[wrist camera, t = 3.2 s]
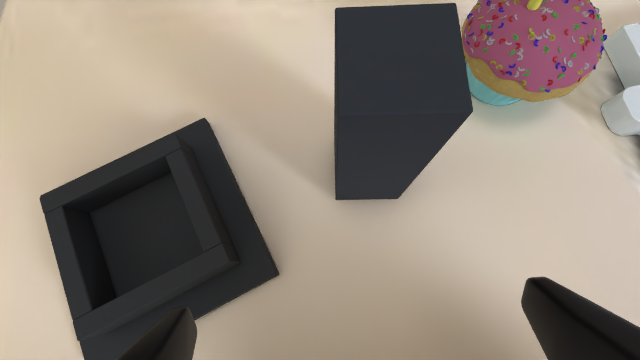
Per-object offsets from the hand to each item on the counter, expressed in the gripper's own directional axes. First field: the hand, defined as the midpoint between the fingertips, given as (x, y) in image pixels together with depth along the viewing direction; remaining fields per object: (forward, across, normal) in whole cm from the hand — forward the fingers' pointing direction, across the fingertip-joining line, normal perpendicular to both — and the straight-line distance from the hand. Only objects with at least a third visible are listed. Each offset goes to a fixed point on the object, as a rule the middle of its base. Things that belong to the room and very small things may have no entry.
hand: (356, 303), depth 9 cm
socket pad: (+13, +13, +6) cm, 19 cm away
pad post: (+15, -2, +3) cm, 16 cm away
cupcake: (+20, -14, -2) cm, 24 cm away
